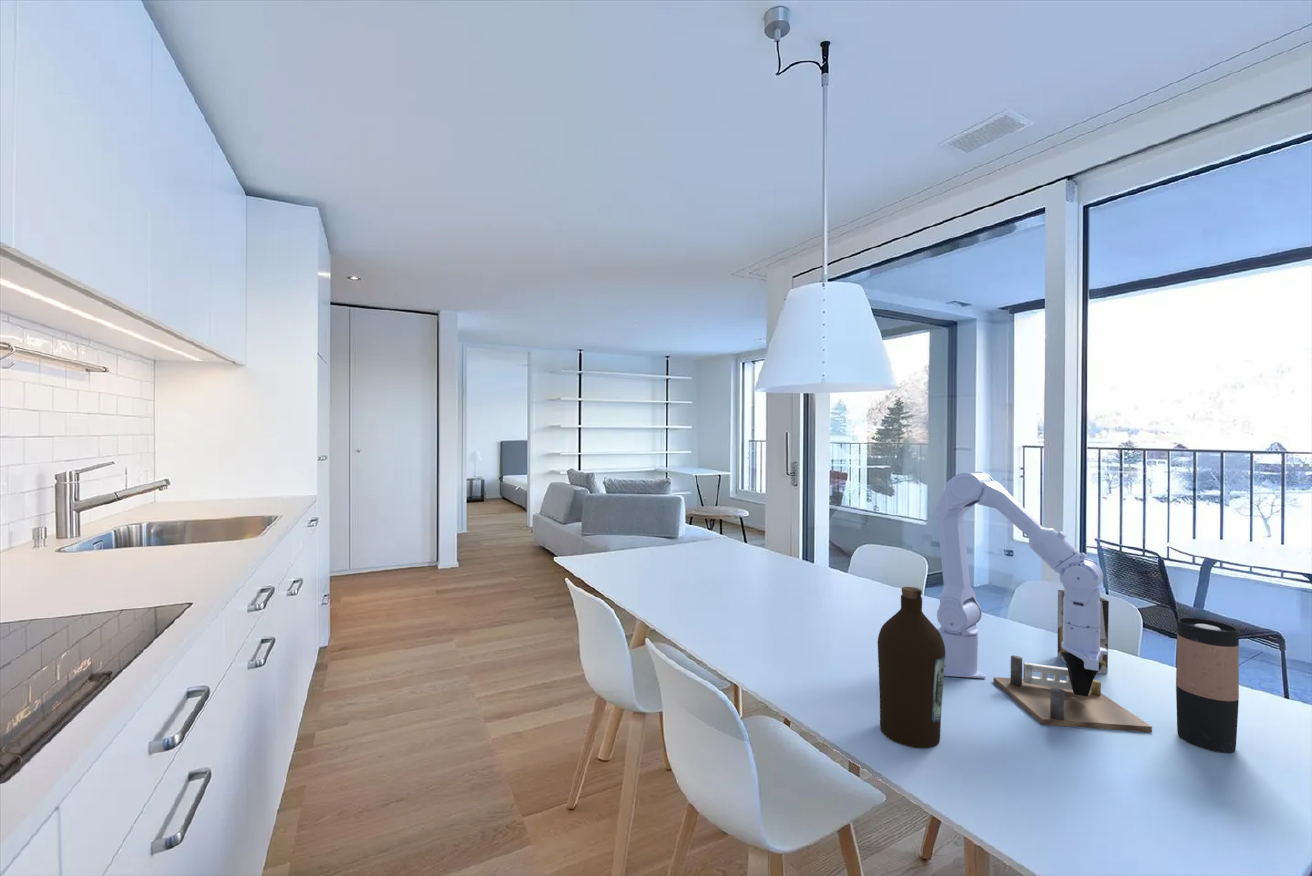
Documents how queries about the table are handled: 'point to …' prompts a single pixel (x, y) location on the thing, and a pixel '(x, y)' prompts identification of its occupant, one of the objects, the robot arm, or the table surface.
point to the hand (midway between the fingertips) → (1080, 694)
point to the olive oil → (911, 675)
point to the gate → (1043, 679)
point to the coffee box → (1103, 630)
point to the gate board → (1068, 704)
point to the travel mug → (1207, 684)
